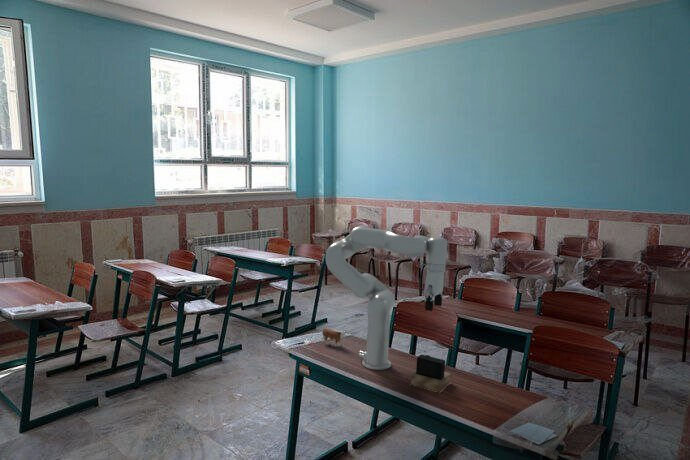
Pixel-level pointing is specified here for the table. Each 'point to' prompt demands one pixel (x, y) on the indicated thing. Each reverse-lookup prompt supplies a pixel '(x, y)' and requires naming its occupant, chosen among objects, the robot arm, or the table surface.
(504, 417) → the table surface
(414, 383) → the plinth
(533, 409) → the table surface
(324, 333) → the bull figurine
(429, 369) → the digital camera
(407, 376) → the table surface
